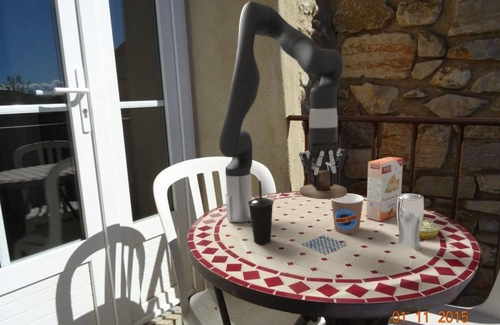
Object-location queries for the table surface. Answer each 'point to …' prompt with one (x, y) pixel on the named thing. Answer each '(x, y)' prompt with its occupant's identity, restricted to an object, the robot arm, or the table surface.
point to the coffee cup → (347, 213)
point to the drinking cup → (261, 218)
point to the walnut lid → (323, 188)
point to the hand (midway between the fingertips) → (323, 186)
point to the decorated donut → (428, 230)
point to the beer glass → (410, 219)
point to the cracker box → (383, 187)
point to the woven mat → (324, 245)
